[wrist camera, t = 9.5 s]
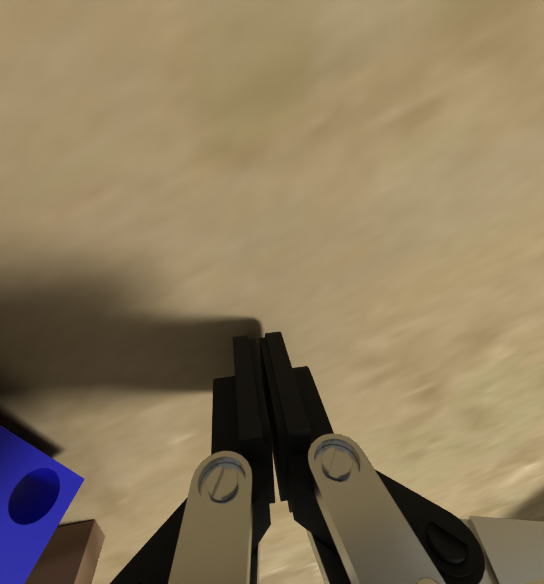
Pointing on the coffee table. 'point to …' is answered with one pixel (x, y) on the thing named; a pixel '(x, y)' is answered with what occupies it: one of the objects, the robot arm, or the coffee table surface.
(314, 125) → the coffee table surface
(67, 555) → the dock bay
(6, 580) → the cable clip
